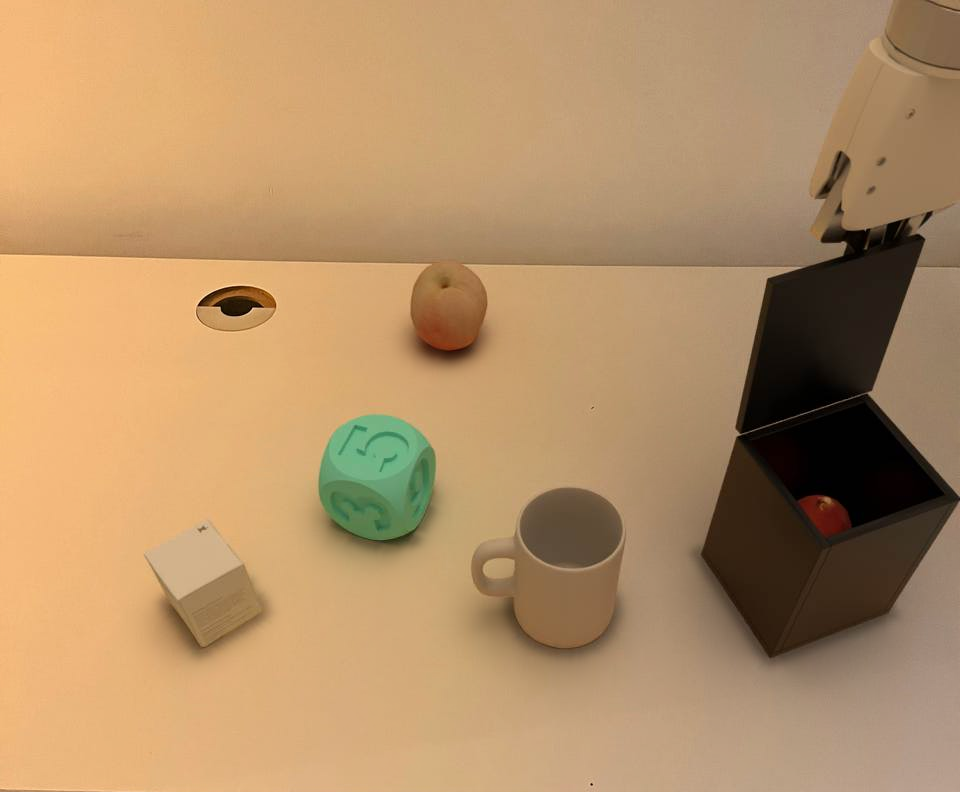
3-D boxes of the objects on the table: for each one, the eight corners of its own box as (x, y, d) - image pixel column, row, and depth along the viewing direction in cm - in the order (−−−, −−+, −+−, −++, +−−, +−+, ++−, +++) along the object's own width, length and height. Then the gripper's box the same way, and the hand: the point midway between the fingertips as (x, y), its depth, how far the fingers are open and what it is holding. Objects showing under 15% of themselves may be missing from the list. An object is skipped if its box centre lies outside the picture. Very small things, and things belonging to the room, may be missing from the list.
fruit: (397, 347, 98) (389, 282, 91) (439, 303, 101) (435, 237, 95) (461, 374, 95) (459, 309, 89) (502, 328, 99) (502, 263, 92)
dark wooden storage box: (888, 613, 79) (961, 498, 67) (769, 658, 77) (822, 549, 65) (813, 514, 85) (867, 392, 72) (700, 554, 83) (736, 435, 70)
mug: (606, 564, 82) (620, 481, 73) (619, 647, 78) (634, 569, 69) (471, 571, 82) (466, 489, 73) (475, 654, 78) (471, 577, 69)
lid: (926, 238, 62) (918, 232, 62) (773, 284, 60) (766, 277, 60) (872, 391, 72) (866, 385, 72) (740, 434, 70) (734, 428, 70)
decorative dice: (360, 465, 89) (349, 403, 82) (439, 486, 88) (433, 424, 81) (325, 528, 85) (310, 468, 78) (407, 551, 84) (398, 492, 77)
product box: (168, 602, 81) (140, 551, 75) (229, 567, 83) (207, 515, 77) (202, 650, 79) (176, 601, 72) (264, 613, 81) (245, 562, 74)
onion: (809, 522, 83) (836, 461, 77) (850, 569, 81) (882, 509, 74) (755, 546, 82) (777, 486, 75) (794, 594, 79) (822, 536, 73)
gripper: (1026, -37, 55) (910, 240, 71) (806, 15, 52) (736, 291, 68) (1116, 21, 51) (973, 300, 67) (885, 80, 49) (792, 357, 64)
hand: (854, 295), depth 67 cm, fingers closed
